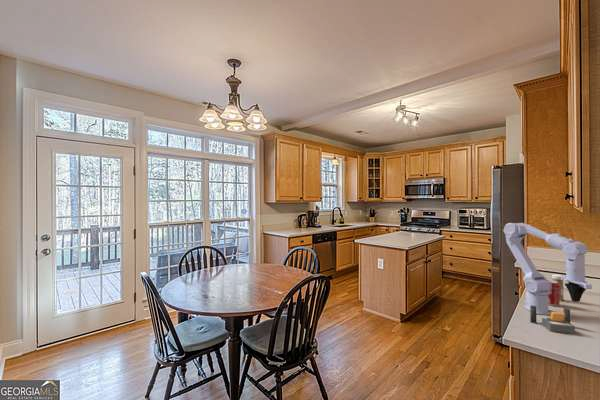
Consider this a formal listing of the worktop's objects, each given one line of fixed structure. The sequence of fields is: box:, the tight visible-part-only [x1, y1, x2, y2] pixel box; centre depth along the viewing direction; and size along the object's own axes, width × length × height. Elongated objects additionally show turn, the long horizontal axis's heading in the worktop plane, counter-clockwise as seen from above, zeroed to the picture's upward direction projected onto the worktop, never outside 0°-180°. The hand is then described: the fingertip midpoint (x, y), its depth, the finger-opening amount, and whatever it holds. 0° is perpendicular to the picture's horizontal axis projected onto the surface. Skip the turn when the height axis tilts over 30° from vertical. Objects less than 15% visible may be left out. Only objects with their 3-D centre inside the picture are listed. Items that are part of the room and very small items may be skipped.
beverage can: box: [547, 279, 561, 307], centre depth 143 cm, size 6×6×12 cm
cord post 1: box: [529, 305, 537, 324], centre depth 121 cm, size 2×2×7 cm
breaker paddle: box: [549, 311, 565, 322], centre depth 114 cm, size 1×4×4 cm, turn 74°
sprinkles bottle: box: [551, 273, 565, 302], centre depth 150 cm, size 5×5×13 cm
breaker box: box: [541, 317, 576, 335], centre depth 114 cm, size 6×8×4 cm
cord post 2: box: [563, 308, 571, 324], centre depth 117 cm, size 2×2×7 cm
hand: (575, 301), depth 119 cm, fingers closed
